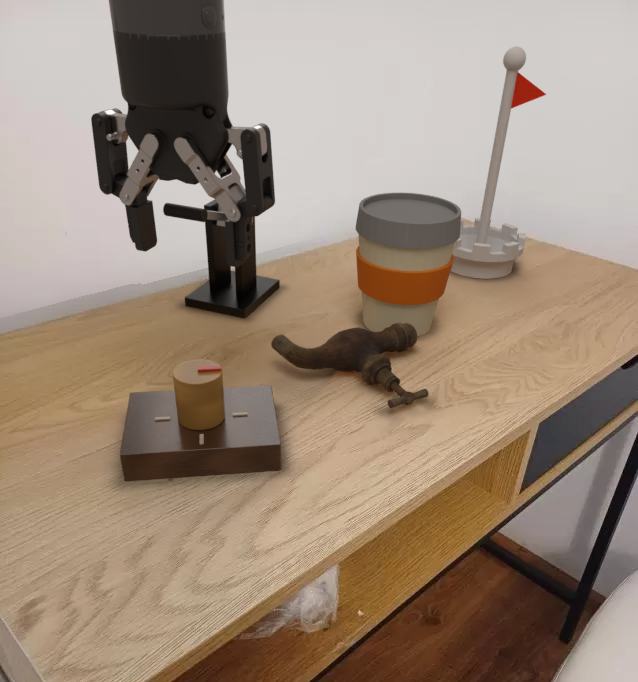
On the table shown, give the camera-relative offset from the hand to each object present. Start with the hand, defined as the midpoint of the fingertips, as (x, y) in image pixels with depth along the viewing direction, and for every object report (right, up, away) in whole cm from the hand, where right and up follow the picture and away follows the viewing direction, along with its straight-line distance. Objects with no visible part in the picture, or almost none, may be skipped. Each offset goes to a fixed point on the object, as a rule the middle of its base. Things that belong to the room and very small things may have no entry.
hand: (191, 255), depth 53 cm
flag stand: (+36, +11, +49) cm, 62 cm away
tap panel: (-1, -16, +9) cm, 18 cm away
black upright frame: (-1, +4, +37) cm, 37 cm away
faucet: (+16, -9, +20) cm, 27 cm away
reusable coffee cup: (+21, -1, +32) cm, 38 cm away
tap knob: (-1, -13, +8) cm, 15 cm away
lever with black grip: (-3, +11, +26) cm, 28 cm away
